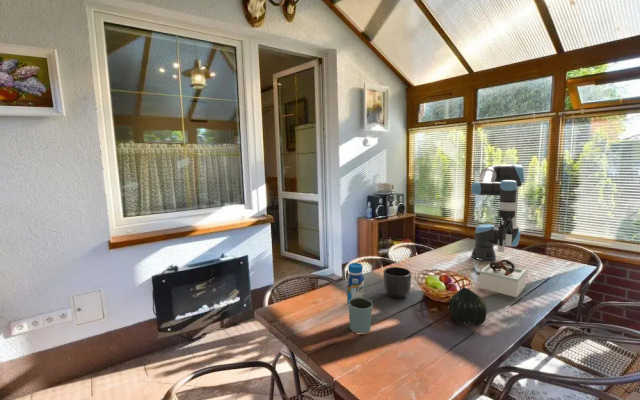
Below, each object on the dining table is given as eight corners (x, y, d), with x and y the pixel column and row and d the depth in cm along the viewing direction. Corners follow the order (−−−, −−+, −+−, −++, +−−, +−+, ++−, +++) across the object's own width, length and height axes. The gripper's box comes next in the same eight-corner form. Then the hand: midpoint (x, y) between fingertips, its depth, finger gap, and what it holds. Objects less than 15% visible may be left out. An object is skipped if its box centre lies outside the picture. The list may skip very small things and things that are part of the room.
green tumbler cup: (348, 323, 140) (347, 297, 139) (371, 323, 140) (371, 297, 138) (349, 336, 130) (349, 308, 129) (374, 336, 130) (374, 308, 128)
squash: (485, 323, 128) (486, 287, 135) (445, 316, 135) (448, 282, 142) (486, 332, 138) (487, 298, 145) (449, 325, 145) (452, 293, 153)
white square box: (489, 278, 187) (490, 262, 186) (525, 286, 175) (526, 269, 173) (478, 287, 174) (479, 270, 173) (516, 297, 162) (517, 279, 161)
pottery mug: (504, 269, 179) (512, 259, 175) (510, 282, 172) (519, 272, 167) (484, 264, 179) (491, 254, 175) (489, 277, 172) (496, 267, 167)
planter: (383, 288, 175) (383, 266, 173) (409, 290, 172) (410, 267, 170) (383, 300, 162) (383, 275, 160) (411, 302, 159) (412, 277, 157)
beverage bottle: (352, 298, 164) (352, 261, 161) (367, 302, 159) (367, 264, 157) (343, 304, 157) (343, 265, 155) (359, 309, 153) (358, 269, 150)
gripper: (505, 205, 180) (503, 242, 183) (491, 212, 162) (489, 252, 165) (521, 207, 175) (518, 244, 178) (508, 214, 157) (505, 255, 160)
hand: (504, 248), depth 172 cm, fingers open, 13 cm apart
